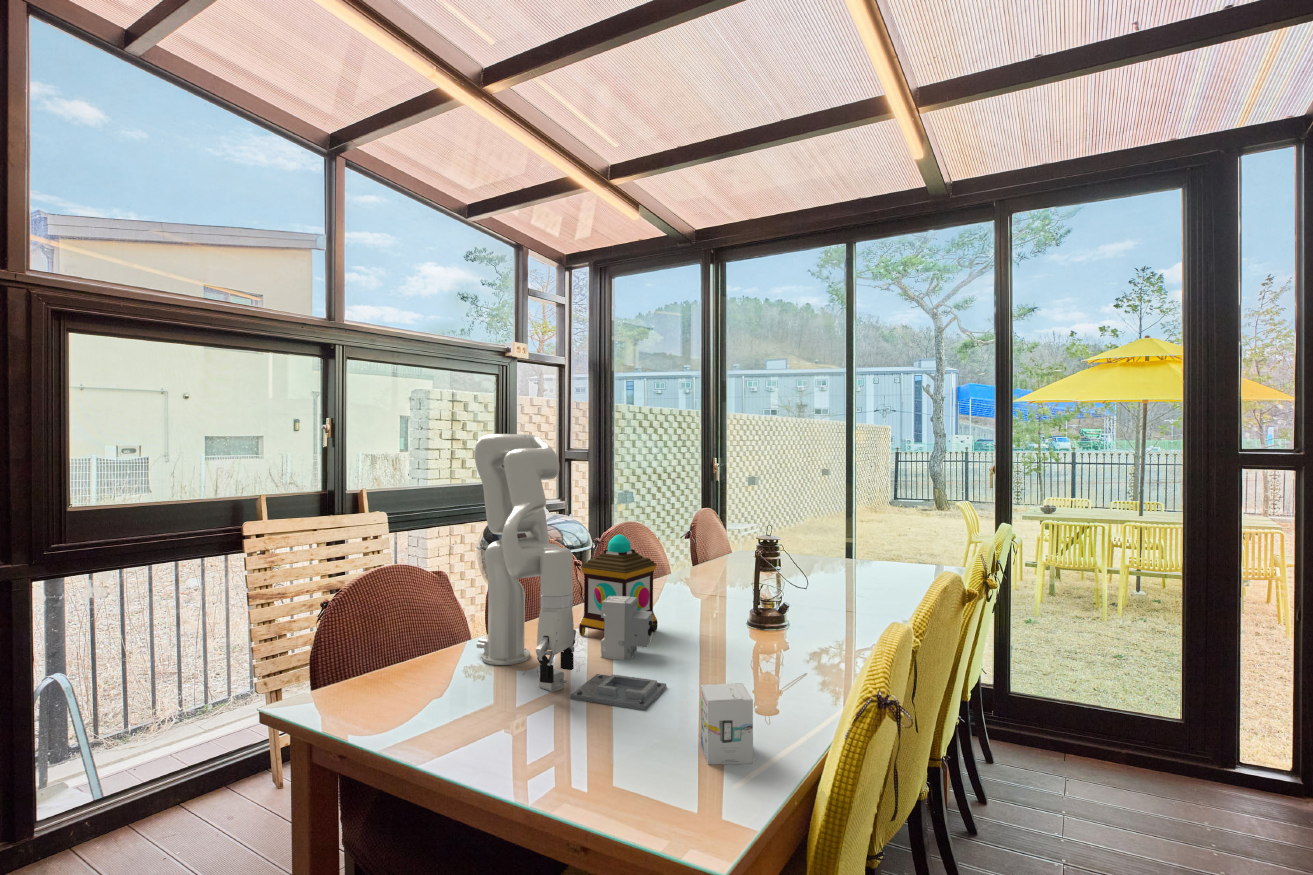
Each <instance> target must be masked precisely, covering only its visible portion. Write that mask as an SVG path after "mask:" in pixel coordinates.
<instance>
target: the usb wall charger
mask: <svg viewBox="0 0 1313 875" xmlns="http://www.w3.org/2000/svg"><path fill="white" fill-rule="evenodd" d="M565 685H569V681H568V680H566V679H565V673H564V672H563V671H562V670H559V669H556V668H554V682H553V683H543V682H540V671H539V672H538V687H539V688H540V689H543V690H546V691H549V692H551V693H553V692H557V691H559V690H562V689H563V688H564V687H565Z"/></svg>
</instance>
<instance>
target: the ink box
mask: <svg viewBox="0 0 1313 875" xmlns="http://www.w3.org/2000/svg"><path fill="white" fill-rule="evenodd" d="M753 702H754V699H753V698H752V696H751V694H750V693H749V691H748V690H747V688H746V686H745V684H744V683H743V682H741V683H734V682H733V683H731V682H730V683H711V684H710V683H708V684H707V683H706V684H703V683H702V684H700V745H701V749H702V752H703V754H704V757H705V760H706V763H707V765H708V766H709V765H710V766H712V765H716V766H717V765H741V764H744V765H745V764H747V765H748V764H753V763H754V726H753V725H754V703H753Z"/></svg>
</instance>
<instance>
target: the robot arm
mask: <svg viewBox="0 0 1313 875" xmlns="http://www.w3.org/2000/svg"><path fill="white" fill-rule="evenodd" d="M474 462H475V467H476V470H477V473H478V475H479V476H478V477H480V480H481V483H482V487H483V497H484V506H485V515H486V516H485V517H486V522H487V527H488V530H489V531H490V533H492V534H494V535H501V539H500V540H495V541H492V542H491V543H490V544H489V545H488V546H486V549H485V552H484V562H485V568H486V573H487V583H488V585H487V586H488V587H487V588H488V590H487V591H488V596H487V597H488V598H487V599H488V600H487V601H488V602H487V603H488V605H487V606H488V607H487V608H488V609H487V610H488V612H487V614H488V616H487V622H488V623H487V639H486V638H479V639H477V640H478V641H477V644H476V648H477V649H483V651H484V652H483V653H482V654H481V660H482V661H483V662H484V663H485V664H488V665H493V666H508V665H509V666H510V665H511V666H512V665H517V664H520V663H523V662H525V661H528V660H529V659H530V657H531V651H530V650H529V649H528V648H525V625H526V624H525V610H526V608H525V607H526V604H525V603H526V602H525V600H526V594H525V587H524V586H523V584H522V583H521V582H520V581H519V579H526V578H534V577H540V578H539V579H540V582H539V583H540V588H539V589H540V590H539V591H540V592H539V594H540V595H539V596H540V598H539V599H540V600H539V601H540V610H539V615H538V622H537V635H536V636H537V639H536V648H535V654H536V659H537V661H538V665H539V672H540V682H543V683H553V682H554V669H555V668H554V664H553V661H554V659H555V656H556V655H558V654H559V653H560V669H561V670H565V671H566V670H567V671H572V670H574V665H575V664H574V652H575V643H576V634H577V630H576V629H574V628H575V627H574V625H575V624H574V614H573V608H574V605H573V604H574V595H573V594H574V593H573V591H574V590H573V588H574V587H573V586H574V585H573V584H574V582H573V581H574V580H573V579H574V578H573V577H574V576H573V574H574V572H573V571H574V570H573V567H574V566H573V565H574V564H573V560H574V559H573V552H572V551H571V549H570V548H567V547H561V546H560V545H558V544H555V543H550V539H549V530H548V523H547V522H548V521H547V516H546V511H545V507H546V505H547V498H546V494H545V491H544V487H543V481H544V480H545V481H546V480H547V481H550V480H553V479H555V478H557V476H558V474H559V472H560V461H559V457H558V455H557V453H556V451H555V450H554V449H553V448H552V447H551V446H550V445H549V444H547V443H546V441H544V440H543V439H542V438H540V437H539V436H538V435H536V434H535V435H534V434H528V433H527V434H526V433H525V434H524V433H523V434H519V433H517V434H516V433H492V434H490V433H489V434H487V435H486V434H485V435H483V436H482V437H480V438H479V439H478V440H477V442H476V444H475V447H474ZM518 534H525V537H519V538H518ZM547 656H549V657H547Z"/></svg>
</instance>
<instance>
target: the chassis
mask: <svg viewBox="0 0 1313 875" xmlns="http://www.w3.org/2000/svg"><path fill="white" fill-rule="evenodd" d="M666 689H667V683H665V682H658V679H656V680H655V679H650V678H643V677H636V676H635V677H634V676H627V675H619V674H611V675H607V674H606V675H605V674H601V673H599V674H597V673H596V674H595V675H593V676H592V677H591V678H590V679H588V681H586V682H585V683H583V684H582V685H581V686H580V687H578V688H577V689H576V690H574V691H573V692H572V693H570V699H571V700H576V701H582V702H587V703H588V702H589V703H596V704H600V705H602V704H603V705H608V706H613V707H621V708H628V709H634V710H635V709H636V710H641V711H646V710H647V709H648V708H650V707H651V705H652V704H653V703H654V702H655V701H656V700H657V698H659V697H660V695H661V694H662V693H663V692H664V691H665V690H666Z"/></svg>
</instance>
